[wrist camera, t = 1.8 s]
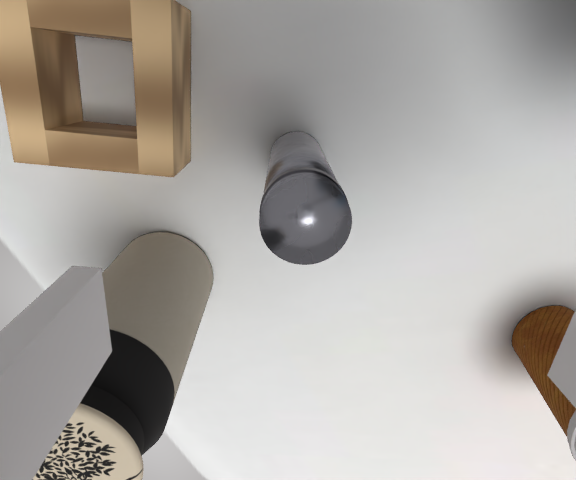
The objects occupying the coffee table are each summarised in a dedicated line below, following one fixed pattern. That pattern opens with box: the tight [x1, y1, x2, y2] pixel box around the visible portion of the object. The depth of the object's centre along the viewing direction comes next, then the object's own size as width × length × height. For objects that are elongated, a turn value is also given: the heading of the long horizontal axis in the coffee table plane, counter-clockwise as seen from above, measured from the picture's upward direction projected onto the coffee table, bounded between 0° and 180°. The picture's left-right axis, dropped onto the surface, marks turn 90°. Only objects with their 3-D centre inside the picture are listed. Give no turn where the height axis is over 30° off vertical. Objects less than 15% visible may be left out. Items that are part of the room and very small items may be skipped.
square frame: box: [0, 0, 191, 177], centre depth 25 cm, size 10×10×5 cm
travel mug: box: [32, 232, 213, 480], centre depth 25 cm, size 8×8×18 cm
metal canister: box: [259, 131, 352, 265], centre depth 23 cm, size 4×4×14 cm
